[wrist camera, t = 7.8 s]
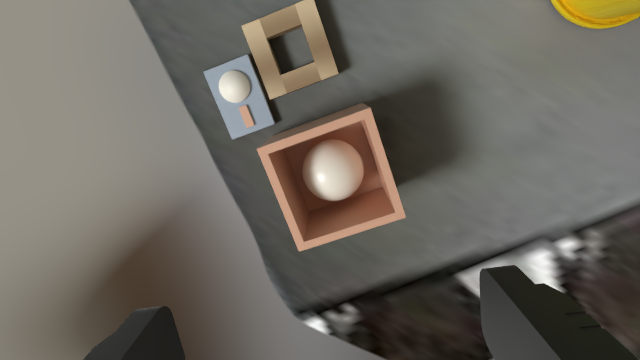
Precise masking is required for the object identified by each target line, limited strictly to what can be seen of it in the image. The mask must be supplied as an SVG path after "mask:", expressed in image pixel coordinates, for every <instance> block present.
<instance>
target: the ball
mask: <svg viewBox="0 0 640 360" xmlns="http://www.w3.org/2000/svg"><path fill="white" fill-rule="evenodd" d="M302 174H303V179H304V182H305V184H306V186H307V187H308V189H309V190H310V191H311V192H312V193H313V194H314V195H315V196H317V197H319V198H321V199H323V200H327V201H339V200H343V199H345V198H347V197H349V196H351V195H352V194H353V193H354V192H355V191H356V190H357V189H358V187H359V186H360V184H361V182H362V179H363V174H364V166H363V161H362V159H361V156H360V155H359V153H358V152H357V150H356V149H355V148H354V147H353V146H351V145H350V144H348V143H346V142H344V141H341V140H326V141H322V142H320V143H318V144H316V145H315V146H314V147H312V148H311V149H310V151H309V152H308V153H307V155H306V157H305V159H304V162H303V167H302Z"/></svg>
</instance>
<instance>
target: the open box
mask: <svg viewBox="0 0 640 360" xmlns="http://www.w3.org/2000/svg"><path fill="white" fill-rule="evenodd" d="M326 140H341V141H344V142H346V143H348V144H350V145H351V146H353V147H354V148H355V149H356V150H357V152H358V153H359V155H360V156H361V159H362V161H363V166H364V174H363V179H362V182H361V184H360V186H359V187H358V189H357V190H356V191H355V192H354V193H353V194H352V195H351V196H349V197H347V198H345V199H343V200H339V201H327V200H323V199H321V198H319V197H317V196H315V195H314V194H313V193H312V192H311V191H310V190H309V189H308V187H307V186H306V184H305V182H304V179H303V174H302V167H303V162H304V159H305V157H306V155H307V153H308V152H309V151H310V149H311V148H312V147H314V146H315V145H316V144H318V143H320V142H322V141H326ZM257 151H258V153H259V156H260V158H261V161H262V163H263V165H264V168H265V170H266V173H267V175H268V177H269V180H270V182H271V185H272V187H273V190H274V192H275V194H276V197H277V199H278V202H279V204H280V207H281V209H282V211H283V214H284V216H285V219H286V221H287V224H288V226H289V228H290V231H291V233H292V236H293V238H294V240H295V243H296V245H297V248H298V250H299V251H303V250H306V249H309V248H312V247H315V246H318V245H321V244H324V243H328V242H331V241H334V240H337V239H340V238H343V237H346V236H349V235H353V234H356V233H359V232H362V231H365V230H368V229H371V228H374V227H377V226H381V225H384V224H387V223H390V222H393V221H396V220H399V219H402V218H406V216H405V213H404V210H403V207H402V204H401V201H400V198H399V194H398V191H397V188H396V185H395V182H394V179H393V176H392V173H391V170H390V167H389V163H388V160H387V157H386V154H385V151H384V148H383V145H382V142H381V139H380V136H379V132H378V129H377V126H376V123H375V120H374V117H373V114H372V111H371V108H370V107H369V106H367V105H365V104H363V103H360V104H357V105H354V106H352V107H349V108H346V109H343V110H341V111H338V112H335V113H332V114H330V115H327V116H324V117H322V118H319V119H316V120H313V121H311V122H308V123H305V124H302V125H300V126H297V127H294V128H292V129H289V130H286V131H283V132H281V133H278V134H275V135H273V136H272V137H270V138H269V139H268V140H267V141H266V142H264V143H263V144H262V145H261V146H260V147H258V148H257Z"/></svg>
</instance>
